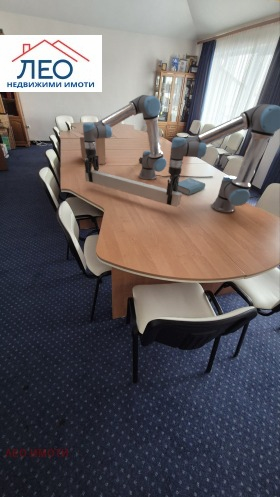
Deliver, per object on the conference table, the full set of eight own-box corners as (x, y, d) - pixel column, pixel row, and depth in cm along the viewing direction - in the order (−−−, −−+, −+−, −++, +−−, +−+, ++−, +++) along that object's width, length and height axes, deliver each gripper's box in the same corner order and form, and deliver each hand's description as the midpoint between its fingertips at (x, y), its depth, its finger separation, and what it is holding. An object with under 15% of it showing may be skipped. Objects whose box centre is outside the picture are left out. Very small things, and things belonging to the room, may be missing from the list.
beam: (85, 180, 170) (84, 170, 165) (89, 178, 173) (89, 168, 168) (176, 207, 141) (178, 195, 136) (179, 204, 145) (181, 192, 140)
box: (116, 165, 229) (116, 136, 213) (83, 168, 214) (80, 137, 198) (102, 154, 259) (101, 128, 243) (71, 156, 244) (68, 129, 228)
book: (188, 183, 198) (190, 178, 195) (204, 189, 190) (205, 183, 187) (173, 189, 185) (174, 183, 182) (188, 195, 176) (190, 189, 173)
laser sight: (158, 166, 235) (159, 156, 229) (137, 164, 238) (138, 154, 232) (159, 164, 243) (160, 154, 237) (139, 161, 245) (140, 152, 239)
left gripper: (86, 151, 147) (89, 185, 161) (102, 146, 160) (104, 178, 174) (77, 149, 150) (81, 183, 164) (94, 145, 163) (97, 176, 177)
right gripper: (175, 171, 123) (170, 209, 137) (186, 164, 136) (181, 199, 149) (163, 169, 126) (159, 206, 140) (175, 162, 138) (170, 196, 152)
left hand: (93, 180), depth 169 cm, fingers closed on beam, 5 cm apart
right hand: (170, 202), depth 145 cm, fingers closed on beam, 5 cm apart
